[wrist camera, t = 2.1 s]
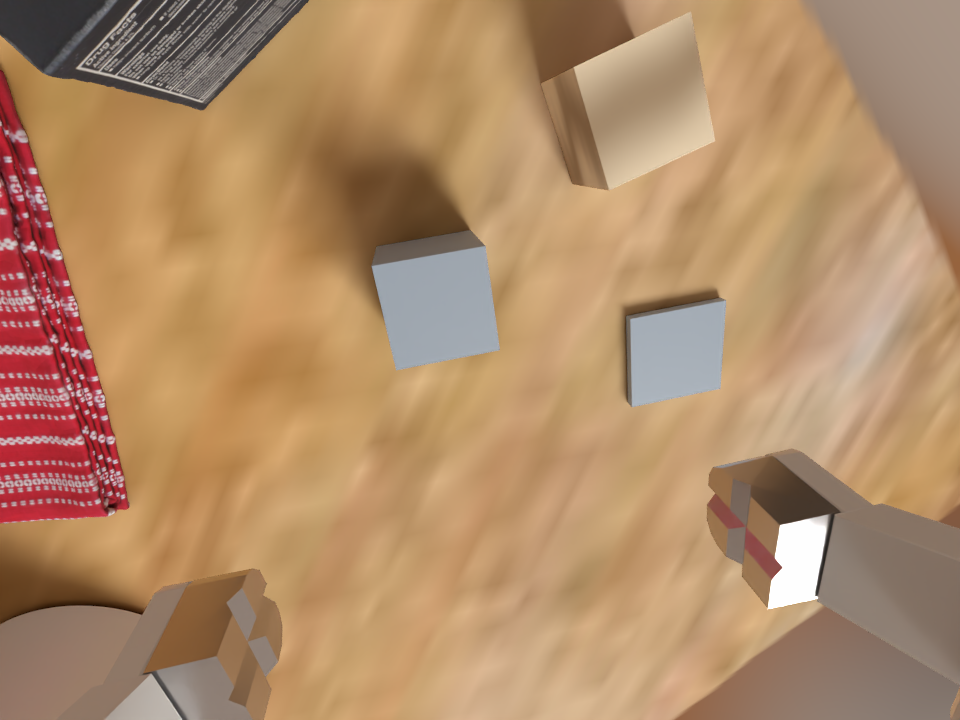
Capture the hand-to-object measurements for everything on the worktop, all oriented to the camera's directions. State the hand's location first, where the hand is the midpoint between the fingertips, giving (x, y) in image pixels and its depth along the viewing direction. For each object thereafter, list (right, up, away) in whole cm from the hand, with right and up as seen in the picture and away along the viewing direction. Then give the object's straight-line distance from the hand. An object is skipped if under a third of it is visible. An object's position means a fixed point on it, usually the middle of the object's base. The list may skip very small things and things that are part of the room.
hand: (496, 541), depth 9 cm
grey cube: (-3, +7, +18) cm, 20 cm away
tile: (+12, +4, +22) cm, 25 cm away
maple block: (+6, +16, +16) cm, 23 cm away
